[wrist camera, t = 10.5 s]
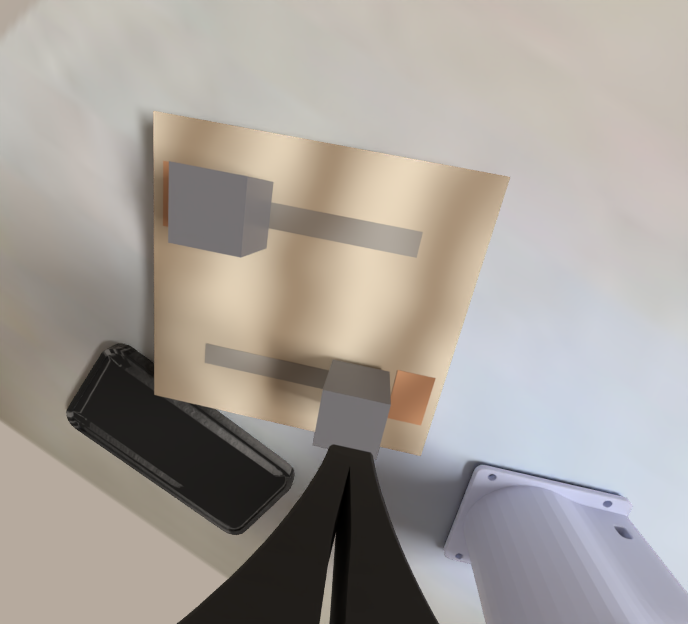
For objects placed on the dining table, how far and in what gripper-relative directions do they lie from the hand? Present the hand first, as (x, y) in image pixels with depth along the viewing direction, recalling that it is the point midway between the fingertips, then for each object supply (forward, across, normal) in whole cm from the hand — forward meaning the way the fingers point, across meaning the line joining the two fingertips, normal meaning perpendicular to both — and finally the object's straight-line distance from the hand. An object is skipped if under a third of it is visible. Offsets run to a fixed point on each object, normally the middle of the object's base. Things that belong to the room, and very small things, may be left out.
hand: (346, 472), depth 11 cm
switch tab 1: (+7, +7, -7) cm, 12 cm away
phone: (+10, +11, +10) cm, 18 cm away
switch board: (+9, +4, -3) cm, 10 cm away
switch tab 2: (+7, 0, +1) cm, 7 cm away
